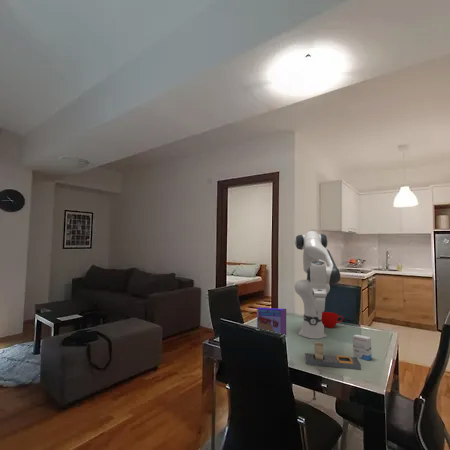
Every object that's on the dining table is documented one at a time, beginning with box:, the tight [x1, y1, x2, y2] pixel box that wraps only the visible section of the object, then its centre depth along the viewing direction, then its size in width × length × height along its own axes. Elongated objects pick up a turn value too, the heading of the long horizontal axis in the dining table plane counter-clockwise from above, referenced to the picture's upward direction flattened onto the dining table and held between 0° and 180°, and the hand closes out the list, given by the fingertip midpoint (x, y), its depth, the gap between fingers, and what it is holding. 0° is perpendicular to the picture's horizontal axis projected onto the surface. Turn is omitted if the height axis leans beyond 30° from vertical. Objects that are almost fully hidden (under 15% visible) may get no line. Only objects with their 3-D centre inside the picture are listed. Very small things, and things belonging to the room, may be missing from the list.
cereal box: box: [256, 307, 287, 336], centre depth 179 cm, size 17×5×24 cm, turn 82°
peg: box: [314, 341, 324, 360], centre depth 159 cm, size 4×4×10 cm
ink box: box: [352, 334, 373, 362], centre depth 167 cm, size 9×5×12 cm, turn 45°
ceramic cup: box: [321, 311, 344, 329], centre depth 231 cm, size 13×17×10 cm
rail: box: [304, 353, 362, 371], centre depth 158 cm, size 10×27×3 cm, turn 79°
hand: (318, 316), depth 161 cm, fingers open, 8 cm apart
